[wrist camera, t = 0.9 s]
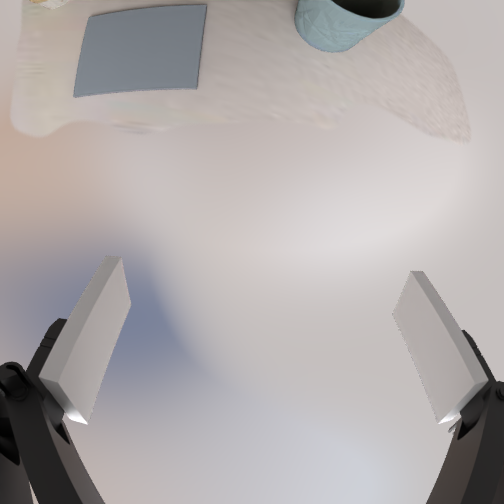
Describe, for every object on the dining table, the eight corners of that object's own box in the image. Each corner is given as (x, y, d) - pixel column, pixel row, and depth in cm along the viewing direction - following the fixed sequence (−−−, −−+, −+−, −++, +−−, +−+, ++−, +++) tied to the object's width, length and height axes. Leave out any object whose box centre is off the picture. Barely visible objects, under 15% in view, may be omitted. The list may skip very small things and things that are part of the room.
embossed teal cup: (365, 63, 32) (412, 31, 20) (288, 54, 31) (312, 10, 20) (356, 2, 29) (394, -40, 18) (283, -8, 29) (303, -61, 17)
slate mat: (90, 18, 27) (88, 17, 27) (206, 7, 29) (206, 4, 28) (75, 97, 30) (73, 96, 30) (196, 89, 32) (196, 87, 31)
